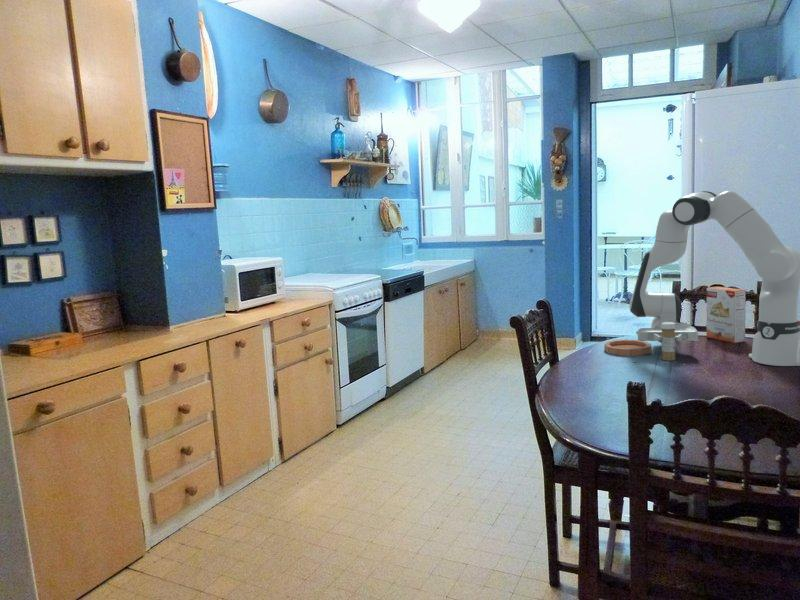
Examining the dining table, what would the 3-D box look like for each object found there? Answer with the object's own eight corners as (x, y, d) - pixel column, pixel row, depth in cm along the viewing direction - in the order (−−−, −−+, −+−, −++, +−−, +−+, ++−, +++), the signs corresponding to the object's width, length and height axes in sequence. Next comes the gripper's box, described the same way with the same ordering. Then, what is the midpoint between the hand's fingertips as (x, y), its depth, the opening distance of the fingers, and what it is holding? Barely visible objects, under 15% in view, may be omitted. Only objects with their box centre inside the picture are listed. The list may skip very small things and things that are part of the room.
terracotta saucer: (624, 344, 244) (624, 338, 244) (660, 350, 230) (660, 344, 230) (596, 350, 236) (595, 344, 235) (631, 357, 222) (631, 351, 221)
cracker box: (705, 337, 246) (705, 287, 243) (717, 336, 248) (717, 285, 245) (733, 343, 233) (734, 290, 230) (745, 342, 234) (746, 289, 232)
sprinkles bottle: (667, 357, 219) (666, 321, 217) (678, 359, 215) (678, 322, 213) (658, 359, 216) (658, 323, 215) (670, 361, 212) (669, 324, 211)
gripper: (635, 323, 230) (637, 330, 217) (694, 323, 223) (699, 330, 210) (635, 339, 230) (637, 347, 218) (694, 339, 224) (699, 347, 211)
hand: (668, 339), depth 214 cm, fingers closed on sprinkles bottle, 4 cm apart
